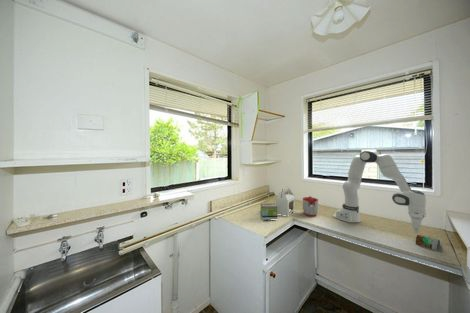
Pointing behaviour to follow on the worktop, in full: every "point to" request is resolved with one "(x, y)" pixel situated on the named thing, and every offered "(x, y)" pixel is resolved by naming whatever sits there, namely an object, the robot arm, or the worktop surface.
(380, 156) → the robot arm
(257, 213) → the worktop surface
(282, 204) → the gable box
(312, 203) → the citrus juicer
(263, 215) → the tea box
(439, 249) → the mat
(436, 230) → the worktop surface
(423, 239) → the food container
